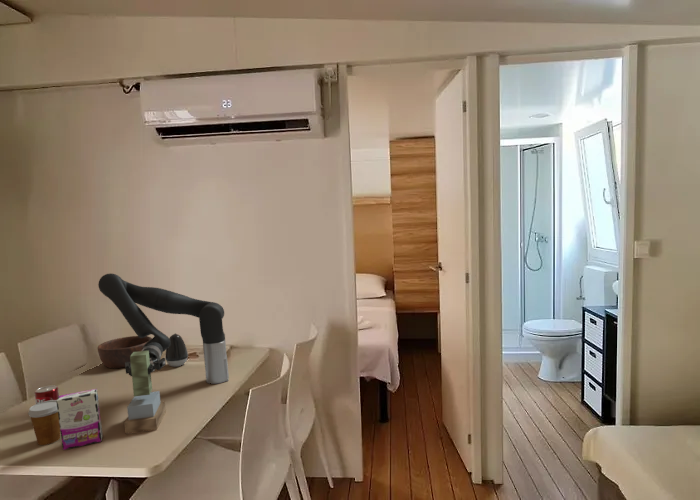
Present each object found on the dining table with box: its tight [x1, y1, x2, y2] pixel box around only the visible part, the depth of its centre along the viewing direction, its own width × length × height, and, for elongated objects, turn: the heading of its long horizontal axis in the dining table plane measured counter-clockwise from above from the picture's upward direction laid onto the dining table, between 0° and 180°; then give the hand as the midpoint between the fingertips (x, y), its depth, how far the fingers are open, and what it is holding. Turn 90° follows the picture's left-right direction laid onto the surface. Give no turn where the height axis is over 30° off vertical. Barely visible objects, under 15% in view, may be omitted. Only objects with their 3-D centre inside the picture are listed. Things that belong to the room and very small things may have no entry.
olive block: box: [130, 351, 153, 398], centre depth 165 cm, size 5×5×14 cm
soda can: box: [34, 384, 60, 404], centre depth 174 cm, size 7×7×12 cm
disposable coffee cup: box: [27, 400, 61, 446], centre depth 158 cm, size 10×10×12 cm
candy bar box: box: [56, 388, 104, 451], centre depth 154 cm, size 11×5×16 cm, turn 114°
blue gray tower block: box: [126, 390, 162, 420], centre depth 167 cm, size 8×12×4 cm, turn 11°
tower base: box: [123, 400, 167, 435], centre depth 168 cm, size 10×15×4 cm, turn 10°
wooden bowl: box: [96, 335, 153, 369], centre depth 241 cm, size 25×25×10 cm
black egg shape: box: [164, 333, 189, 368], centre depth 230 cm, size 10×10×15 cm
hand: (140, 372), depth 163 cm, fingers closed on olive block, 5 cm apart
